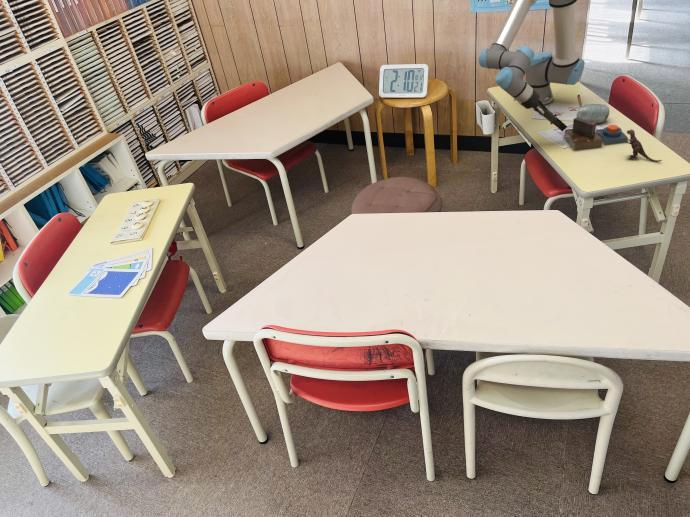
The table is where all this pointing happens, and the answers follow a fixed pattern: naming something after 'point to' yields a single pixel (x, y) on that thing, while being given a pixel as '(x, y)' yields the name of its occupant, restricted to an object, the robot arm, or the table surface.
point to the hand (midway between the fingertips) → (564, 128)
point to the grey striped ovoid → (593, 113)
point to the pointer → (584, 128)
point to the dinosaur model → (637, 147)
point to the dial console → (582, 140)
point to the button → (612, 128)
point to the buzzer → (612, 136)
